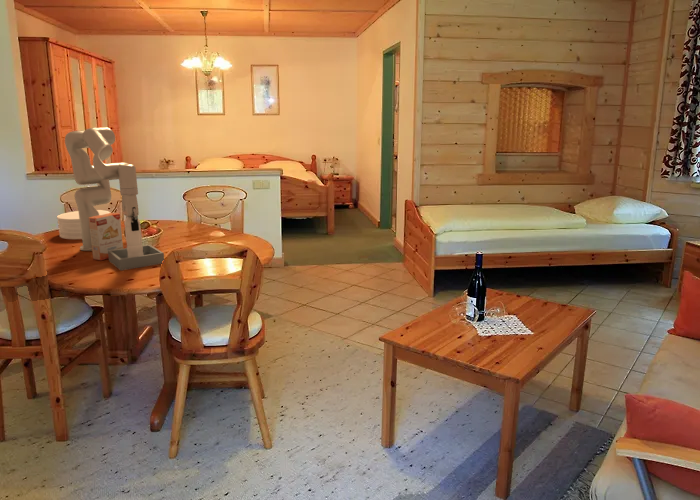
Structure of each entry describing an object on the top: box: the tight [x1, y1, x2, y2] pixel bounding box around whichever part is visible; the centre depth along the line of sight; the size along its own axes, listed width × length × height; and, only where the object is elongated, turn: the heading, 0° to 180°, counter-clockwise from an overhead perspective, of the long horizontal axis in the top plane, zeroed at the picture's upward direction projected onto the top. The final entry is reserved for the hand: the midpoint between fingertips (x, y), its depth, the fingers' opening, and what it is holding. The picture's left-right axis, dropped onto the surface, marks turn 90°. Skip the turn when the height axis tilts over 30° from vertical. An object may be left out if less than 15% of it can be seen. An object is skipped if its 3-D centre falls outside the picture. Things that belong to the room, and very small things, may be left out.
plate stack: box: [56, 209, 111, 240], centre depth 330 cm, size 28×28×12 cm
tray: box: [108, 244, 165, 271], centre depth 270 cm, size 20×20×5 cm
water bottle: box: [123, 215, 144, 258], centre depth 268 cm, size 7×7×25 cm
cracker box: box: [89, 212, 124, 261], centre depth 278 cm, size 14×6×21 cm, turn 153°
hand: (132, 228), depth 267 cm, fingers closed on water bottle, 7 cm apart
